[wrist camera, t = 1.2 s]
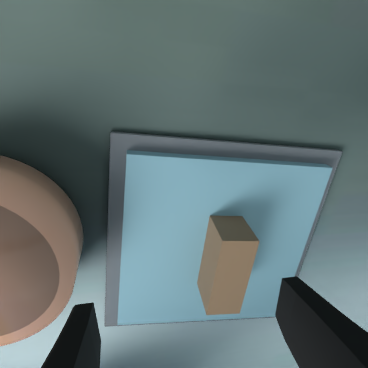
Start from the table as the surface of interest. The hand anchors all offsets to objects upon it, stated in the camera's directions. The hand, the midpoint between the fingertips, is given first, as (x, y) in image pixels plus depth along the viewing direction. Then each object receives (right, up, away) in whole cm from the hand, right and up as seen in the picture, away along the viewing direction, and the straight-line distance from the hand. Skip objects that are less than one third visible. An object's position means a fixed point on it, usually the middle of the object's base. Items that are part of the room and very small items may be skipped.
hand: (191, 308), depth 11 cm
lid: (+2, 0, +11) cm, 11 cm away
